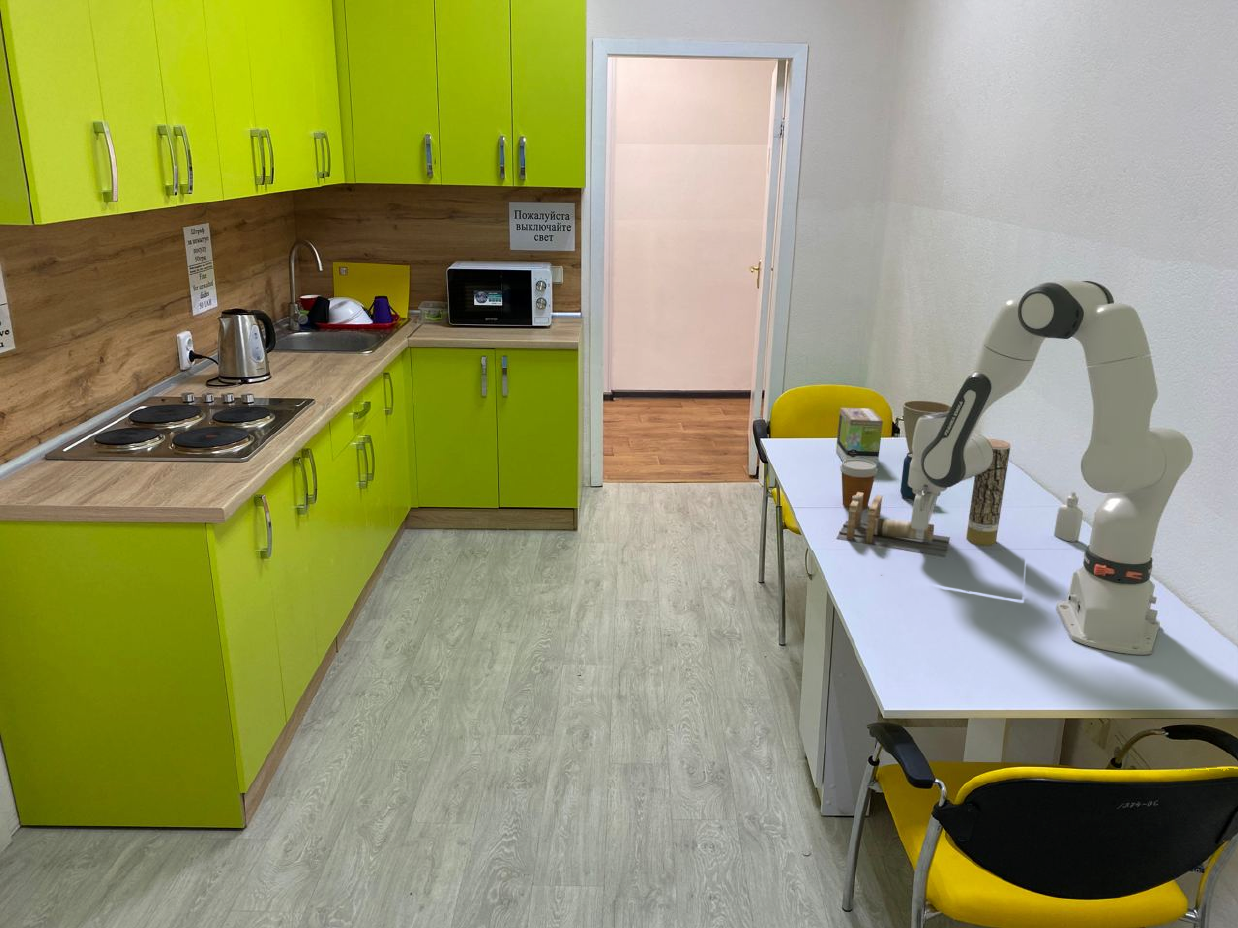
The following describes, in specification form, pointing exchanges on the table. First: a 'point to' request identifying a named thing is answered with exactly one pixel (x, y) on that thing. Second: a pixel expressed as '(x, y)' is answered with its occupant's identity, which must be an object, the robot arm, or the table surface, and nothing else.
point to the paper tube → (988, 497)
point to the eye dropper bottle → (1069, 520)
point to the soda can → (905, 488)
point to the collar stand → (865, 535)
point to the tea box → (859, 434)
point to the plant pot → (919, 415)
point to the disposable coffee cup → (857, 480)
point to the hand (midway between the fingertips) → (921, 534)
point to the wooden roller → (900, 529)
